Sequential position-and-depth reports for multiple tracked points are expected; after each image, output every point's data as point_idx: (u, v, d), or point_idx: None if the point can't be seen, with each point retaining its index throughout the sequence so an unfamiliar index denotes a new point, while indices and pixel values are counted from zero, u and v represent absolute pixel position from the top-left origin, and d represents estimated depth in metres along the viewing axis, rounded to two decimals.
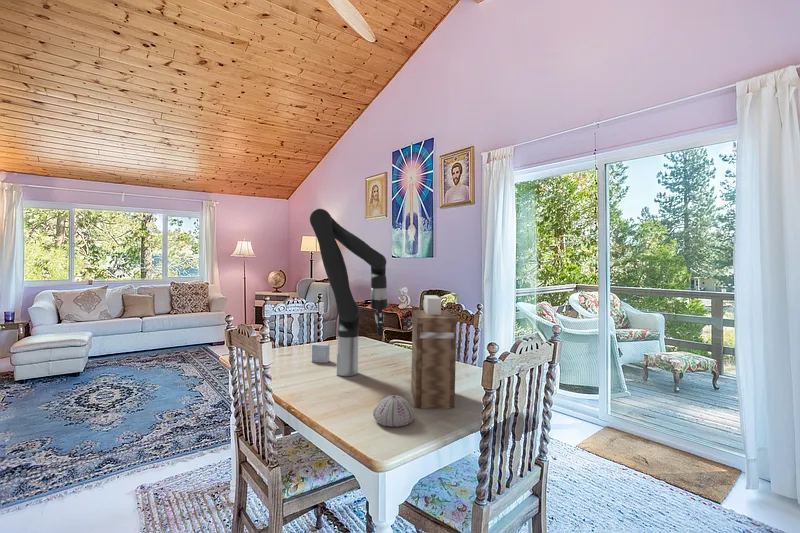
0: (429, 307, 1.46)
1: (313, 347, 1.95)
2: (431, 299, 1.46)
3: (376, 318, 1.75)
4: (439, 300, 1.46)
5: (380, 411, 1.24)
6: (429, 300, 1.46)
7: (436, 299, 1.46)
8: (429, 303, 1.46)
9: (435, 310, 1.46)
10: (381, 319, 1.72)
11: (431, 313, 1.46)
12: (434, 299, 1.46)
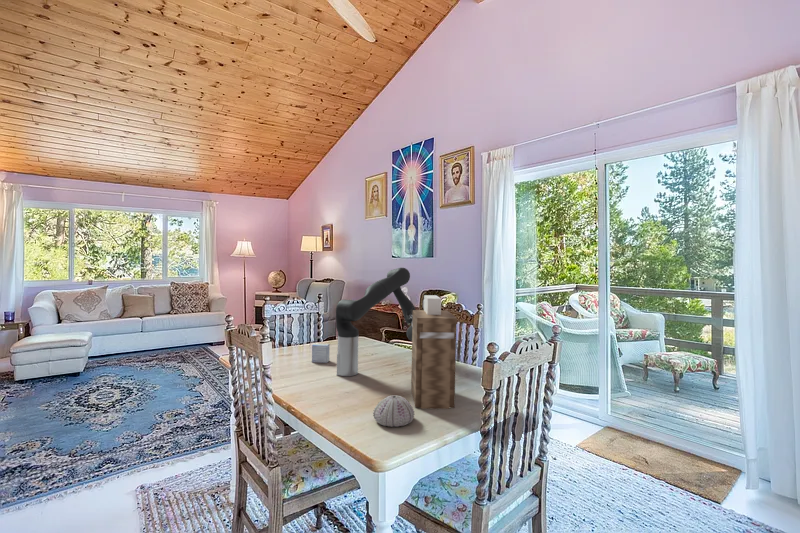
0: (429, 307, 1.46)
1: (313, 347, 1.95)
2: (431, 299, 1.46)
3: None
4: (439, 300, 1.46)
5: (380, 411, 1.24)
6: (429, 300, 1.46)
7: (436, 299, 1.46)
8: (429, 303, 1.46)
9: (435, 310, 1.46)
10: None
11: (431, 313, 1.46)
12: (434, 299, 1.46)
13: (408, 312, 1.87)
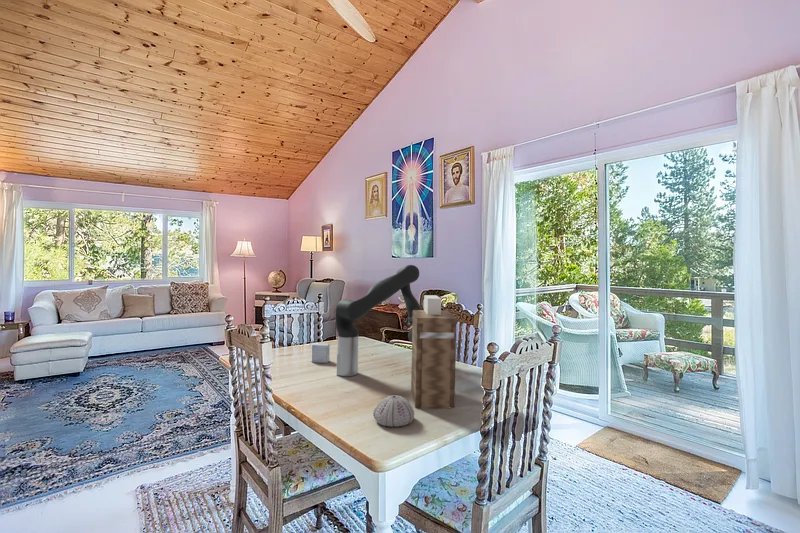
0: (429, 307, 1.46)
1: (313, 347, 1.95)
2: (431, 299, 1.46)
3: None
4: (439, 300, 1.46)
5: (380, 411, 1.24)
6: (429, 300, 1.46)
7: (436, 299, 1.46)
8: (429, 303, 1.46)
9: (435, 310, 1.46)
10: None
11: (431, 313, 1.46)
12: (434, 299, 1.46)
13: (410, 313, 1.73)
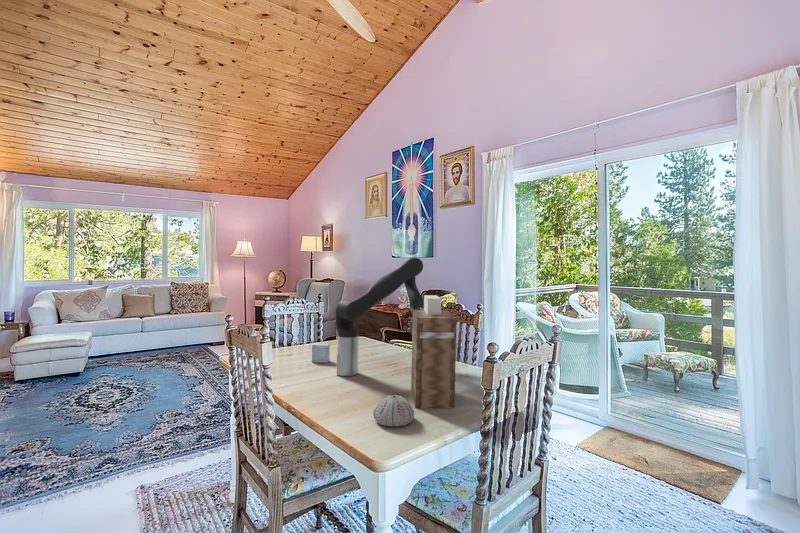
0: (429, 307, 1.46)
1: (313, 347, 1.95)
2: (431, 299, 1.46)
3: None
4: (439, 300, 1.46)
5: (380, 411, 1.24)
6: (429, 300, 1.46)
7: (436, 299, 1.46)
8: (429, 303, 1.46)
9: (435, 310, 1.46)
10: None
11: (431, 313, 1.46)
12: (434, 299, 1.46)
13: (417, 305, 1.66)
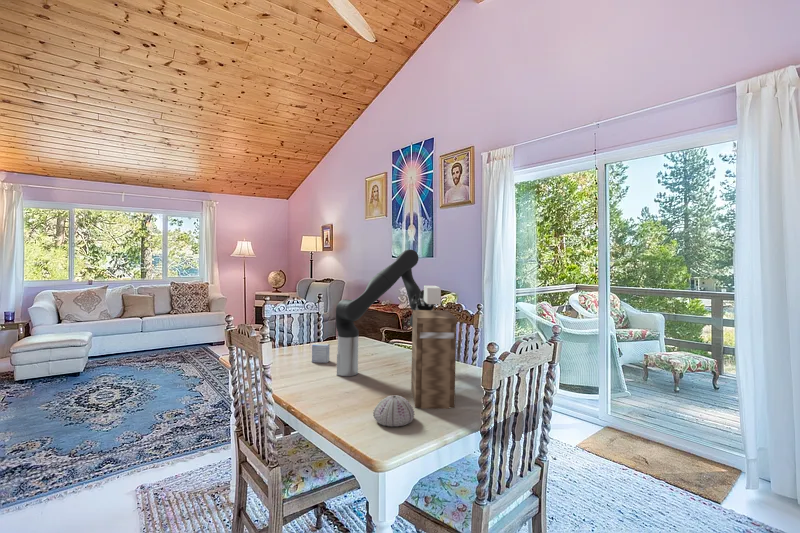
0: (429, 297, 1.46)
1: (313, 347, 1.95)
2: (431, 289, 1.46)
3: None
4: (439, 290, 1.47)
5: (380, 411, 1.24)
6: (429, 290, 1.46)
7: (436, 289, 1.47)
8: (429, 293, 1.46)
9: (435, 300, 1.47)
10: None
11: (431, 302, 1.47)
12: (434, 289, 1.46)
13: (417, 296, 1.66)
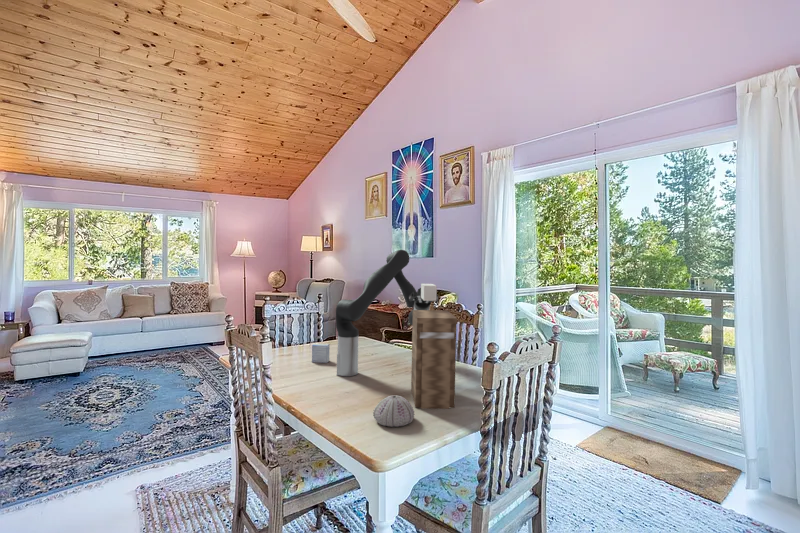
0: (425, 294, 1.57)
1: (313, 347, 1.95)
2: (427, 286, 1.57)
3: None
4: (435, 287, 1.57)
5: (380, 411, 1.24)
6: (425, 287, 1.57)
7: (432, 286, 1.57)
8: (425, 290, 1.57)
9: (431, 297, 1.58)
10: (436, 297, 1.80)
11: (427, 299, 1.57)
12: (430, 286, 1.57)
13: (415, 293, 1.77)
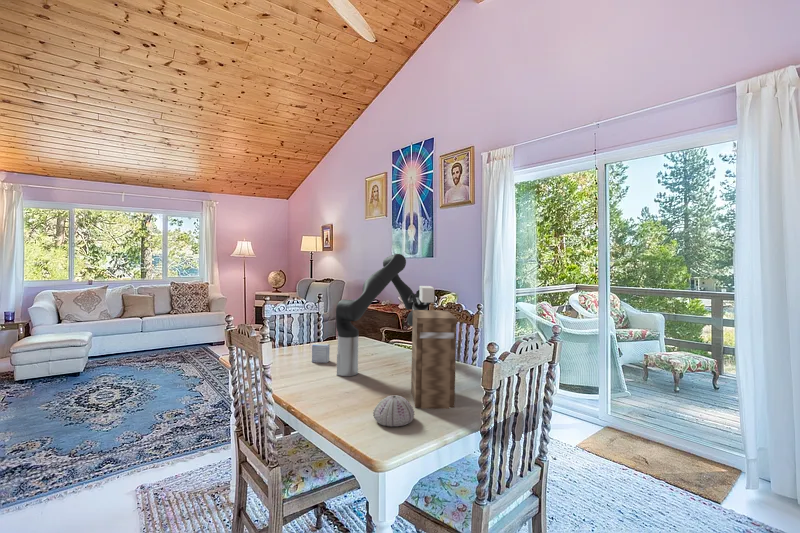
0: (424, 296, 1.64)
1: (313, 347, 1.95)
2: (425, 289, 1.64)
3: None
4: (432, 289, 1.64)
5: (380, 411, 1.24)
6: (424, 289, 1.64)
7: (430, 289, 1.64)
8: (424, 292, 1.64)
9: (429, 299, 1.64)
10: (434, 299, 1.87)
11: (425, 301, 1.64)
12: (428, 289, 1.64)
13: (414, 295, 1.84)
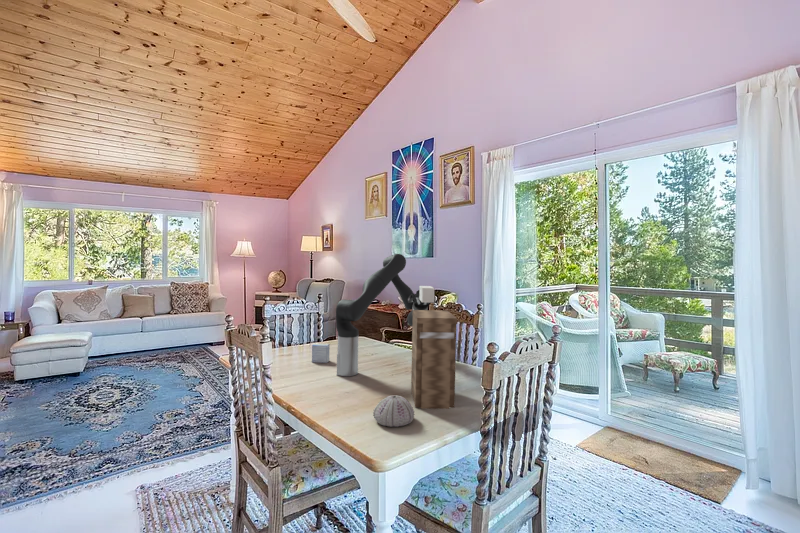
0: (424, 296, 1.64)
1: (313, 347, 1.95)
2: (425, 289, 1.64)
3: None
4: (432, 289, 1.64)
5: (380, 411, 1.24)
6: (424, 289, 1.64)
7: (430, 289, 1.64)
8: (424, 292, 1.64)
9: (429, 299, 1.64)
10: (434, 299, 1.87)
11: (425, 301, 1.64)
12: (428, 289, 1.64)
13: (414, 295, 1.84)
